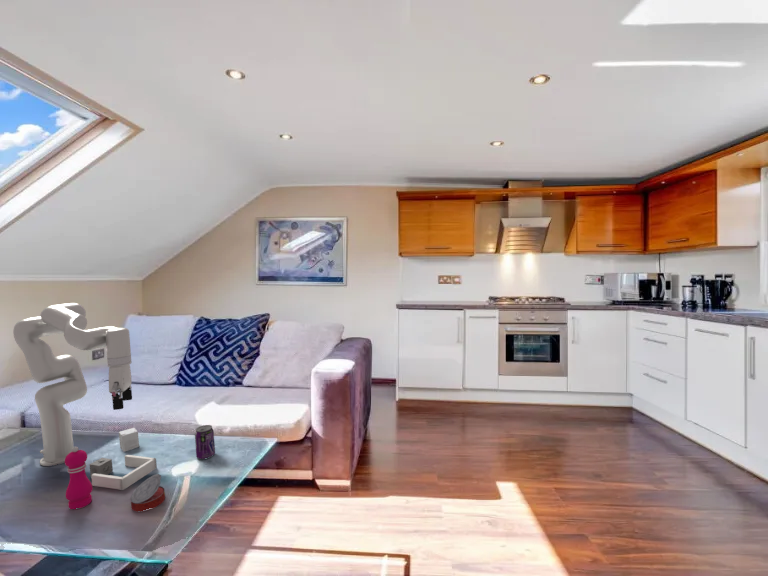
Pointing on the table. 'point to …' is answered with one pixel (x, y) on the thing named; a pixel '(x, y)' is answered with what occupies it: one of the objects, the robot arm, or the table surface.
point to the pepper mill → (78, 480)
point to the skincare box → (128, 439)
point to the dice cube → (101, 466)
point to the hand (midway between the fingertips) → (123, 404)
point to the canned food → (148, 494)
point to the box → (122, 483)
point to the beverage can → (204, 442)
